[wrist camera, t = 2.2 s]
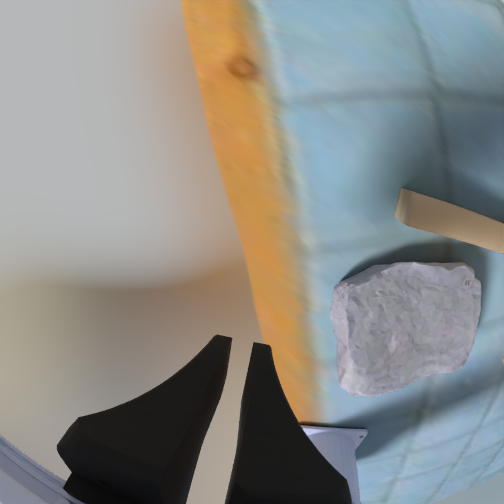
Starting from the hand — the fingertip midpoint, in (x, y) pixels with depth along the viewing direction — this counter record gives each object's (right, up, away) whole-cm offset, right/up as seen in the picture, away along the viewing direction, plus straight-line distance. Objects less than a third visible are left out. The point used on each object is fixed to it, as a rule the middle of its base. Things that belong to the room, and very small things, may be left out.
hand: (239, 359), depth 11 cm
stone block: (+12, 0, +9) cm, 15 cm away
